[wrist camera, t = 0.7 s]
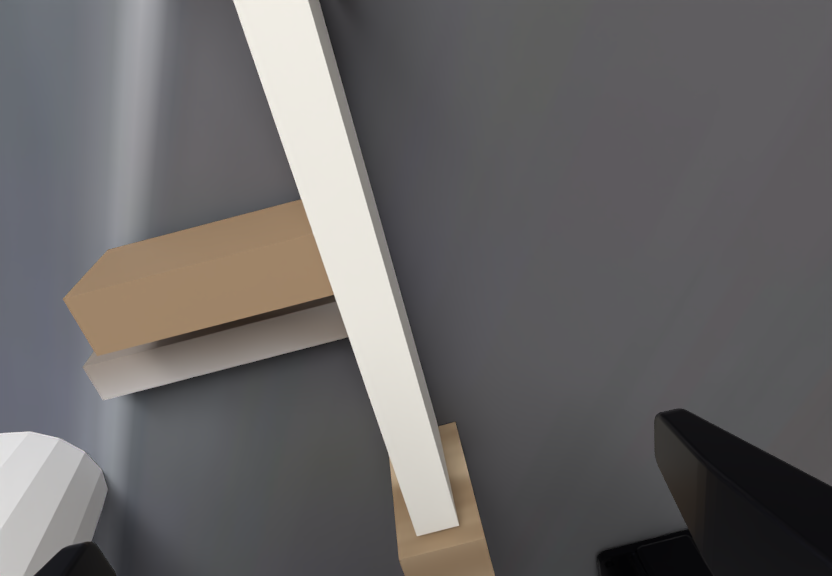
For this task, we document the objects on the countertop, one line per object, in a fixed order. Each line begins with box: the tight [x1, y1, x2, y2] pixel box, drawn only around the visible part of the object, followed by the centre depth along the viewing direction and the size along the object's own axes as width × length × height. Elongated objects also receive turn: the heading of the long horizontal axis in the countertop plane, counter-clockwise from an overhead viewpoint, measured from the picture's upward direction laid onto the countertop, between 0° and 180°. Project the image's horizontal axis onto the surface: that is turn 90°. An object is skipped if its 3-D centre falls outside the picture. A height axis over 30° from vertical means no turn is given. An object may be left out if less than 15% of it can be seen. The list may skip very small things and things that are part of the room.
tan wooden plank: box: [83, 295, 495, 576], centre depth 16 cm, size 34×12×6 cm, turn 13°
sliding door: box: [63, 0, 459, 536], centre depth 18 cm, size 18×9×5 cm, turn 13°
